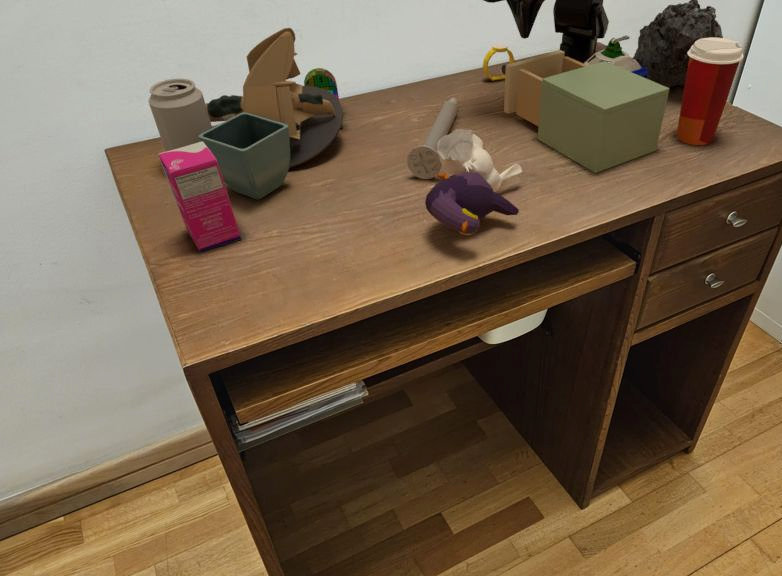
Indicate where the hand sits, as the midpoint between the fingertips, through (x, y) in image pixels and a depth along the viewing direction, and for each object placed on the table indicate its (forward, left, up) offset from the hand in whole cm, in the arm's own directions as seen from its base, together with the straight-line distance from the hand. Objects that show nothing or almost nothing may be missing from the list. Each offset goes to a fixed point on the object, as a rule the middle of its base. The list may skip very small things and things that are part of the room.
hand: (524, 37), depth 106 cm
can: (+54, -11, -11) cm, 57 cm away
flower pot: (+49, +2, -11) cm, 51 cm away
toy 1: (+41, -9, -8) cm, 42 cm away
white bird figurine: (+26, +20, -3) cm, 33 cm away
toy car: (-14, +6, -11) cm, 19 cm away
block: (+33, -13, -11) cm, 37 cm away
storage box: (0, +20, -11) cm, 22 cm away
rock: (-26, +10, -11) cm, 30 cm away
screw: (+21, +2, -10) cm, 24 cm away
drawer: (0, +7, -10) cm, 12 cm away
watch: (-3, -11, -11) cm, 16 cm away
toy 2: (+27, +20, -7) cm, 35 cm away
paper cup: (-14, +27, -11) cm, 32 cm away
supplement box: (+59, +11, -11) cm, 61 cm away
